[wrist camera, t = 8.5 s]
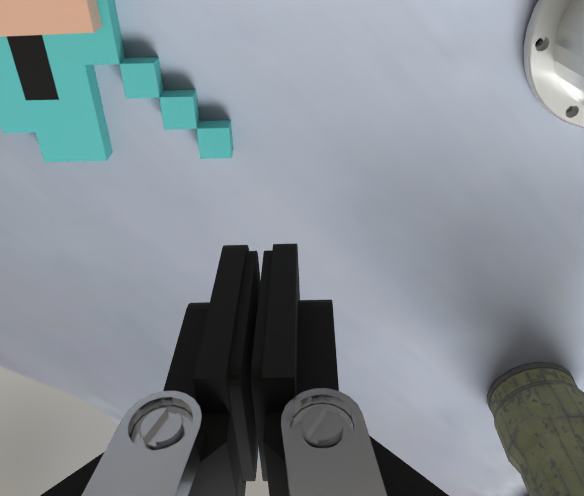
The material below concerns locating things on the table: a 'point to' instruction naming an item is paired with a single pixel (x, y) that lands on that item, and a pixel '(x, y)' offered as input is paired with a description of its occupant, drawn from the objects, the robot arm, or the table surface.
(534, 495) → the thermos
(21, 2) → the terracotta tile
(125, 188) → the table surface
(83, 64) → the alien figure
